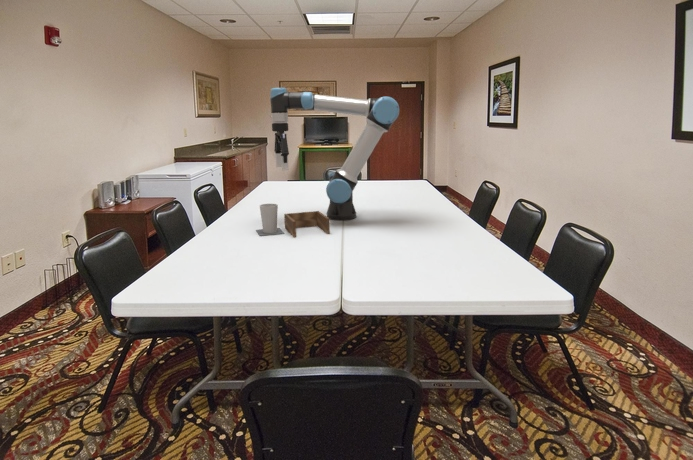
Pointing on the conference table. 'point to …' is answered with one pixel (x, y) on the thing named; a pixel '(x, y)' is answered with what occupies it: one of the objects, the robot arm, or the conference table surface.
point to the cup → (269, 217)
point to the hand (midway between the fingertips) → (282, 168)
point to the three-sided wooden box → (306, 221)
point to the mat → (269, 233)
